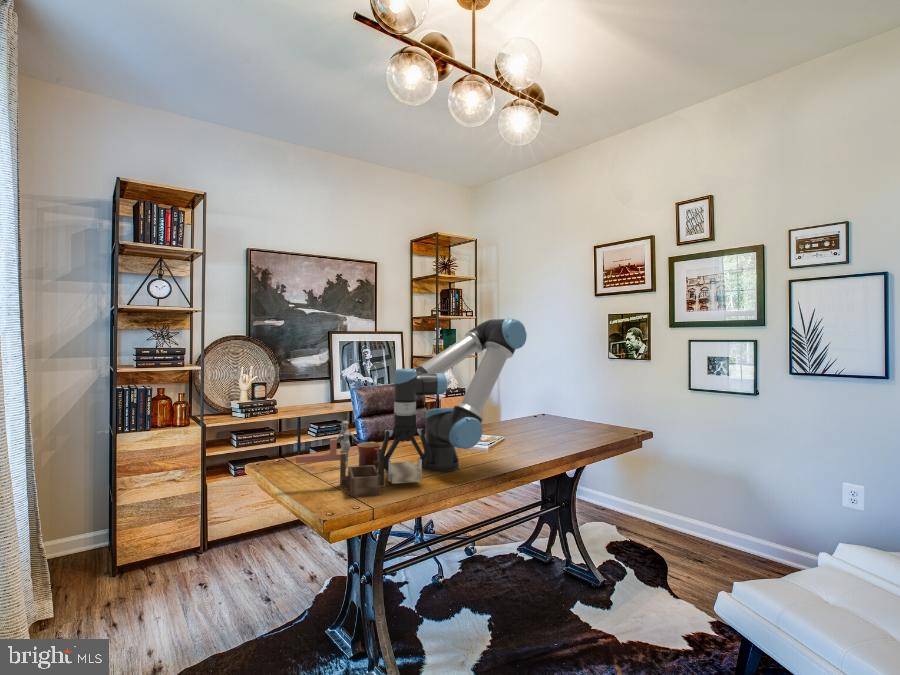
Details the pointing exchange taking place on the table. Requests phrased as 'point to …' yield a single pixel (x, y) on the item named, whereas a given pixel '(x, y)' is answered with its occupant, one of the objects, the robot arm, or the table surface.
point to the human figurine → (345, 439)
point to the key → (322, 455)
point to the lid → (404, 472)
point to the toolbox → (362, 478)
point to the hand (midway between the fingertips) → (404, 478)
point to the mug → (368, 453)
